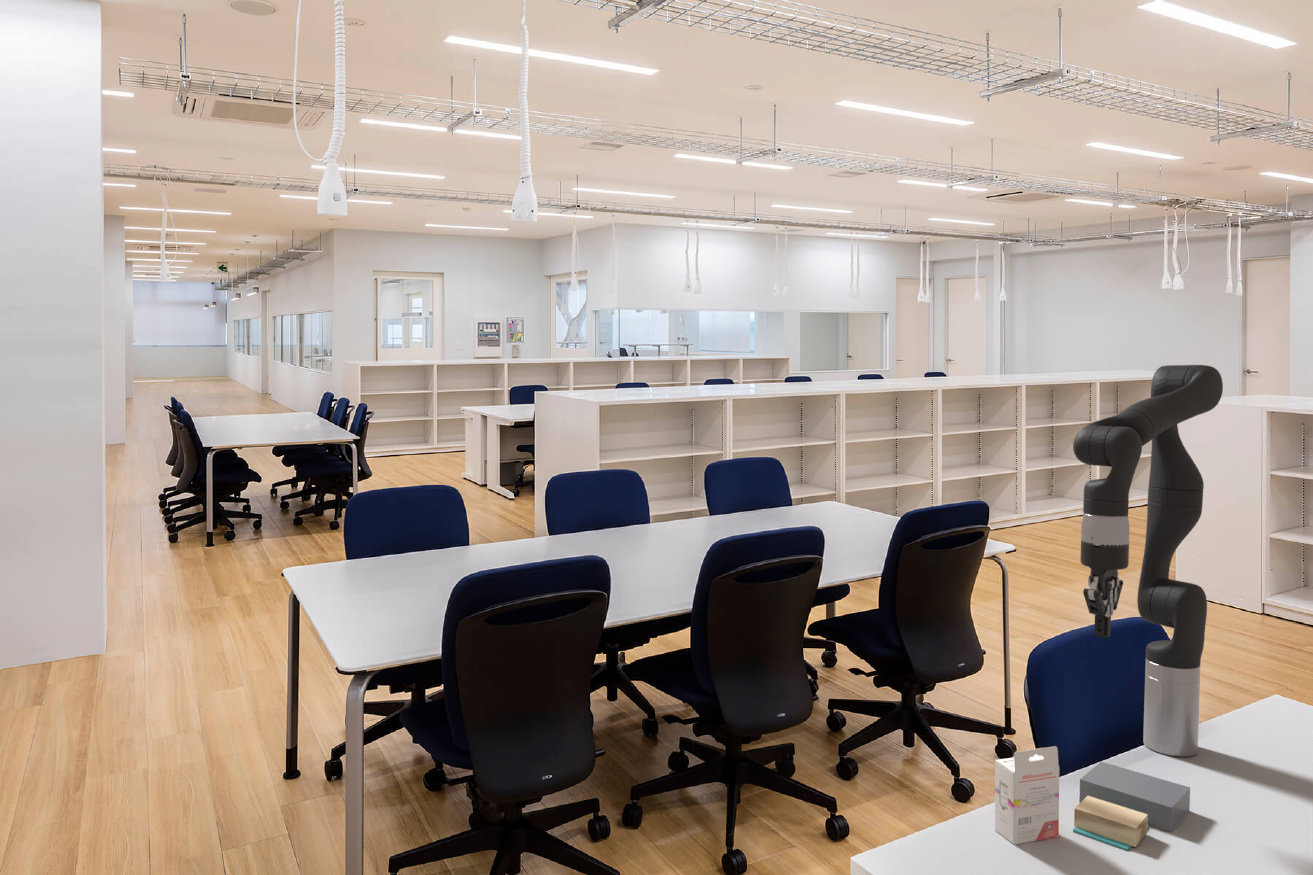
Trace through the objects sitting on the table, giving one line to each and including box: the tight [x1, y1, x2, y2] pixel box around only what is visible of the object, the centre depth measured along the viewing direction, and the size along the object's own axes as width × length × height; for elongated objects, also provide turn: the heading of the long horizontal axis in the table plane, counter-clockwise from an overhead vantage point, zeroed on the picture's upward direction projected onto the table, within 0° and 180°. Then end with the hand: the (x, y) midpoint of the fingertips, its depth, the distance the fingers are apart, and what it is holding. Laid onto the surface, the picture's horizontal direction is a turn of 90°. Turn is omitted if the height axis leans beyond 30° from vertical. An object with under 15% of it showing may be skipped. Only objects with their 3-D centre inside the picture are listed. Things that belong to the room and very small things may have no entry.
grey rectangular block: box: [1079, 761, 1191, 833], centre depth 145 cm, size 10×14×4 cm
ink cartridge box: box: [994, 745, 1060, 845], centre depth 136 cm, size 9×5×15 cm, turn 105°
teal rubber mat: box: [1072, 826, 1132, 852], centre depth 138 cm, size 10×8×1 cm
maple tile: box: [1073, 796, 1149, 848], centre depth 137 cm, size 6×9×3 cm, turn 45°
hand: (1102, 636), depth 152 cm, fingers closed
